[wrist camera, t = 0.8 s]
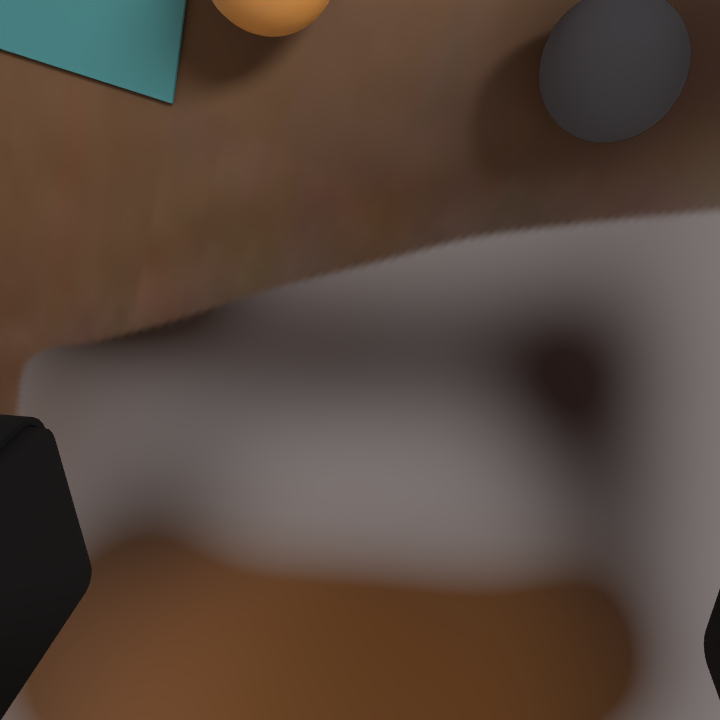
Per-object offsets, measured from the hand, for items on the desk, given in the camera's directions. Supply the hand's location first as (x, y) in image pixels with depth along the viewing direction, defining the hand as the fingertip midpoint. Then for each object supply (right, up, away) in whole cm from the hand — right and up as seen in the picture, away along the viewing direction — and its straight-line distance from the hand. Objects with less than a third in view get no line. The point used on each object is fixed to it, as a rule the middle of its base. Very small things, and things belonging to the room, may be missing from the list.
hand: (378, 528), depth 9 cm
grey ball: (+10, +14, +17) cm, 23 cm away
